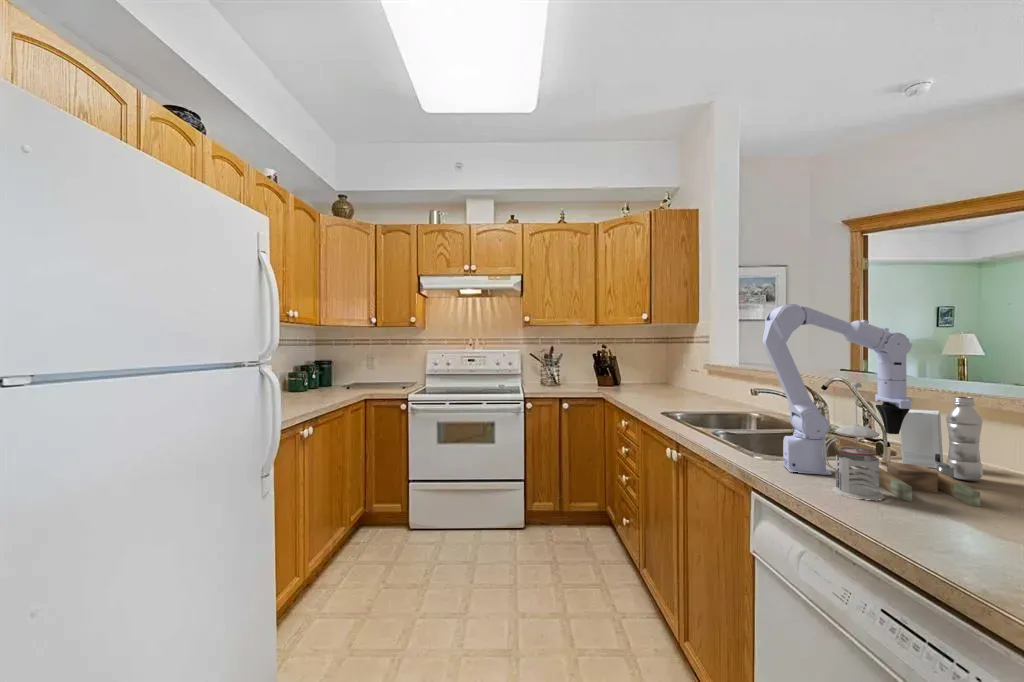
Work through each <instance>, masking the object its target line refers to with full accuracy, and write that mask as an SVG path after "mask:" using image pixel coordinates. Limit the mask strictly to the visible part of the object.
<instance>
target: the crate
mask: <svg viewBox="0 0 1024 682" xmlns="http://www.w3.org/2000/svg"><path fill="white" fill-rule="evenodd" d="M885 466H886V472H888V473H889V474H891V475H893V476H894V477H896V478H898V479H899V480H901V481H903V482H904V483H906V484H908V485H909V486H911V487H912V491H919V492H920V491H921V492H932V491H934V492H935V493H938V490H939V488H938V473H937V472H935V471H933V470H934V469H932V468H929V467H926V466H924V465H916V464H903V463H897V462H896V463H895V462H887V463H886V464H885Z"/></svg>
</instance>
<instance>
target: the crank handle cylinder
mask: <svg viewBox="0 0 1024 682" xmlns="http://www.w3.org/2000/svg"><path fill="white" fill-rule="evenodd" d="M935 463H936V464H938V465H937V469H936V471H938V472H940V473H942V474H944V475H947V476H949V477H951V478H953V479H955V478H954V467H951V466H950V465H948V464H946V463H945V462H944V461H943V462H941V461H940V454H935Z"/></svg>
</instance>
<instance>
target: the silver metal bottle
mask: <svg viewBox="0 0 1024 682" xmlns="http://www.w3.org/2000/svg"><path fill="white" fill-rule="evenodd" d="M952 405H954V406H953V408H951V410H949V411H948V413H947V415H946V418H945V422H946V426H947V432H948V439H949V441H948V444H949V447H948V455H947V458H946V463H945V464H948V465H950V466H951V467H954V479H957V480H961V481H966V480H967V481H969V482H970V481H971V482H973V481H974V482H975V481H980V480H981V479H982V477H983V473H984V470H983V463H982V461H981V454H980V453H981V452H980V442H981V433H982V427H983V418H982V416H981V415H980V413H978V411H977V410H976V409H975V408H974V406H975V405H976V404H975V398H974V397H971V396H953V397H952Z"/></svg>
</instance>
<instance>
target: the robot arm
mask: <svg viewBox="0 0 1024 682" xmlns="http://www.w3.org/2000/svg"><path fill="white" fill-rule="evenodd" d="M764 323H765V325H764V329H763V330H764V332H763V335H762V344H763V347H764V349H765V352H766V354H767V356H768V358H769V361H770V363H771V365H772V367H773V370H774V372H775V375H776V376H777V379H778V381H779V384H780V386H781V388H782V390H783V392H784V395H785V397H786V399H787V401H788V410H789V412H790V424H791V426H792V427H793V429H794V431H793V435H785V436H783V441H782V443H783V444H782V445H783V446H782V449H783V450H782V455H783V463H782V465H783V467H784V468H785V467H786V468H787V469H788V470H789V471H790V472H789V471H788V470H787V469H786V468H785V469H786V470H787V471H788V472H789V473H793V472H798V473H797V474H809V475H810V474H811V475H812V474H813V475H823V476H825V475H827V476H828V475H829V476H832V474H833V473H832V472H831V471H830V470H829V469H827V465H826V464H825V462H824V460H823V457H822V448H823V446H824V444H825V442H826V441H827V439H826V438H827V436H826V435H827V434H828V433H829V431H830V427H831V426H830V422H829V420H828V419H827V417H825V416H824V415H823V413H821V412H820V410H819V408H818V406H817V405H816V404H815V402H814V401H813V400H812V399H811V396H810V394H809V392H808V390H807V388H806V387H807V386H806V385H805V383H804V380H803V379H802V377H801V374H800V372H799V370H798V367H797V365H796V363H795V361H794V358H793V356H792V354H791V352H790V349H789V347H788V345H787V343H788V341H789V339H790V337H791V335H792V334H793V332H795V331H796V330H797V329H798V328H800V327H801V326H805V325H812V326H816V327H818V328H822V329H825V330H827V331H828V330H829V331H831V332H835V333H838V334H842V336H843V337H844V339H845V340H846V341H847V342H850V343H852V344H855V345H857V346H862V347H864V348H867V349H870V350H873V351H874V352H875V353H876V354H877V393H875V395H874V396H875V397H874V398H875V399H874V400H875V402H878V403H879V402H880V403H882V404H875V408H876V409H877V411H878V413H879V415H880V417H881V421H882V423H883V427H884V430H885V433H886V434H889V435H899V434H900V433H901V430H900V429H901V425H902V422H903V420H904V417H905V416H906V414H907V413H908V412H909V410H912V401H913V397H910V396H909V397H908V394H907V393H908V391H907V390H908V387H907V354H908V353H909V352H910V351H911V350H912V347H913V343H911V341H910V339H909V337H907V335H905V333H904V334H903V333H901V332H890V331H889V330H890V329H889V328H887V327H882V328H881V327H878V326H875V325H872V324H871V323H870V322H869V320H866V319H861V320H858V319H857V320H854V321H852V322H849V321H846V320H843V319H840V318H838V317H835V316H832V315H829V314H827V313H824V312H821V311H819V310H817V309H813V308H811V307H807V306H804V305H803V306H800V305H798V304H796V303H788V304H785V305H778V306H775V307H774V308H772V309H771V310H770V311H769V312H768V314H767V316H766V317H765V318H764ZM826 449H827V444H826V445H825V447H824V450H823V451H824V459H825V461H826V455H825V452H826ZM826 462H827V461H826Z"/></svg>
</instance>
